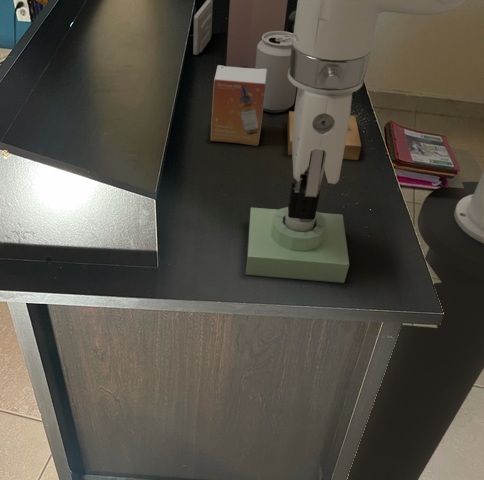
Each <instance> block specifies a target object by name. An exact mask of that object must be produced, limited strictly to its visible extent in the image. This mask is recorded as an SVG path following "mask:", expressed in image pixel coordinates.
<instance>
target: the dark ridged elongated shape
mask: <svg viewBox="0 0 484 480" xmlns="http://www.w3.org/2000/svg"><path fill="white" fill-rule="evenodd" d="M296 10H297V9H295V10H293V11H292V12H291V13H290V14H289V15H288V18H287V20H286V25H285V27H286V28H285V32H290V33H294V25H295V17H296Z"/></svg>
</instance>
